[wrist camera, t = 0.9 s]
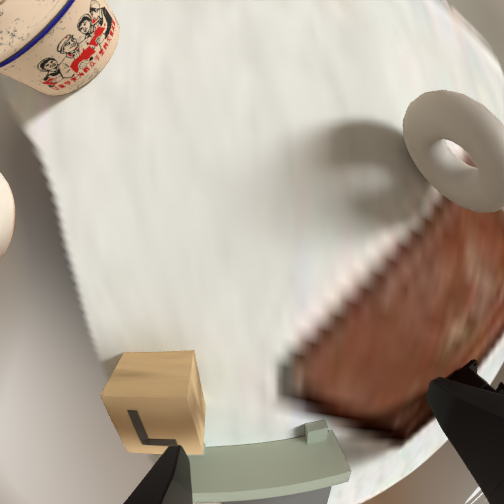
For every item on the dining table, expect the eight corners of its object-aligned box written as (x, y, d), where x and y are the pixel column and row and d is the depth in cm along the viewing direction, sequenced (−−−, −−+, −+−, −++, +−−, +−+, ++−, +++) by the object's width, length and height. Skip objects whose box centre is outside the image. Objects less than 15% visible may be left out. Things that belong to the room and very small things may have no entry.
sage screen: (329, 452, 26) (345, 490, 20) (185, 468, 25) (181, 509, 19) (334, 417, 25) (354, 459, 19) (172, 435, 23) (165, 481, 18)
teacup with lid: (72, 117, 17) (-30, 75, 6) (17, 78, 15) (-65, 41, 4) (171, 4, 16) (145, -95, 5) (103, -21, 14) (60, -93, 3)
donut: (458, 189, 21) (543, 197, 11) (439, 215, 22) (528, 232, 12) (395, 99, 19) (479, 64, 9) (372, 122, 19) (459, 90, 10)
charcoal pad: (324, 506, 29) (325, 509, 29) (230, 520, 28) (230, 522, 28) (335, 459, 26) (337, 462, 26) (214, 476, 25) (214, 480, 25)
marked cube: (205, 405, 23) (203, 456, 17) (142, 406, 23) (127, 453, 17) (194, 349, 22) (186, 398, 16) (124, 352, 21) (100, 396, 15)
